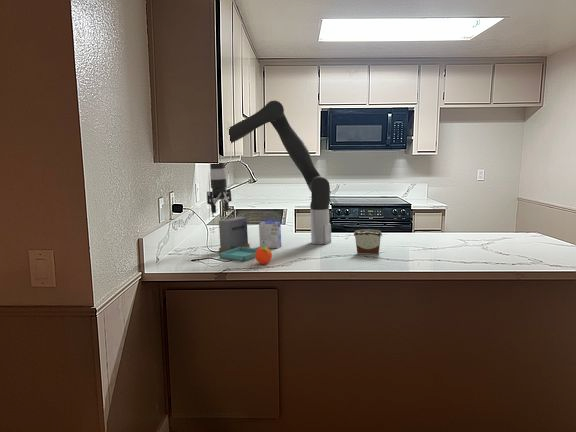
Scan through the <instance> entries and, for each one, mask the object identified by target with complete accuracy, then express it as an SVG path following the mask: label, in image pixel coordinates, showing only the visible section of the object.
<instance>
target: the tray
mask: <svg viewBox="0 0 576 432" xmlns="http://www.w3.org/2000/svg"><path fill="white" fill-rule="evenodd" d="M258 249H259V248H253V247H252V248H251V247H250V248H246V247H239V248H235V249H232V250H229V251H225V252H222V253H221V252H219V259H224V260H231V261H239V262H247V261H250V260H253V259H256V258H255V253H256V251H257V250H258Z"/></svg>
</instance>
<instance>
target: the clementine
mask: <svg viewBox="0 0 576 432" xmlns="http://www.w3.org/2000/svg"><path fill="white" fill-rule="evenodd" d="M257 249H258V250H257V251H256V253H255V258H254V259H255V261H257V263H259V264H261V265H265V264H269V263H270V261H272V258H273V254H272V251H271V250H270V248H266V247H261V248H260V247H258V248H257Z"/></svg>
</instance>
